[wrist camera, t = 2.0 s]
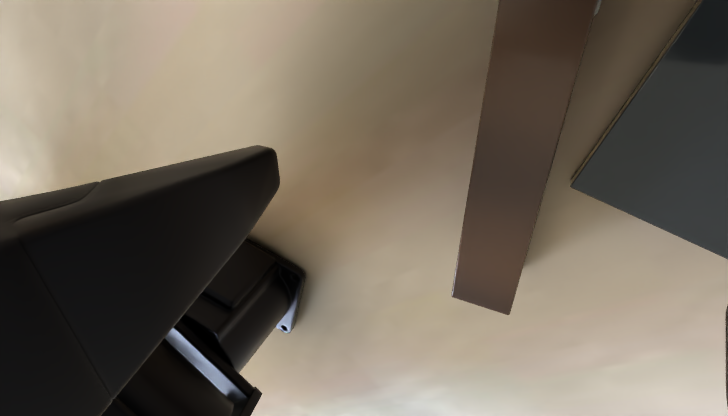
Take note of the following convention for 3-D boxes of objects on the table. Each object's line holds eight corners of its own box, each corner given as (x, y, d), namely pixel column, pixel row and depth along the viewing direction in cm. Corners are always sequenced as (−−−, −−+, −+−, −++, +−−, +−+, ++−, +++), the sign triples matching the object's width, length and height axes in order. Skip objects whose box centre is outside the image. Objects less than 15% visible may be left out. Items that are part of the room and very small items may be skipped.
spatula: (563, 281, 19) (556, 331, 17) (432, 243, 21) (410, 284, 19) (828, -447, 8) (902, -566, 6) (503, -380, 10) (471, -452, 8)
